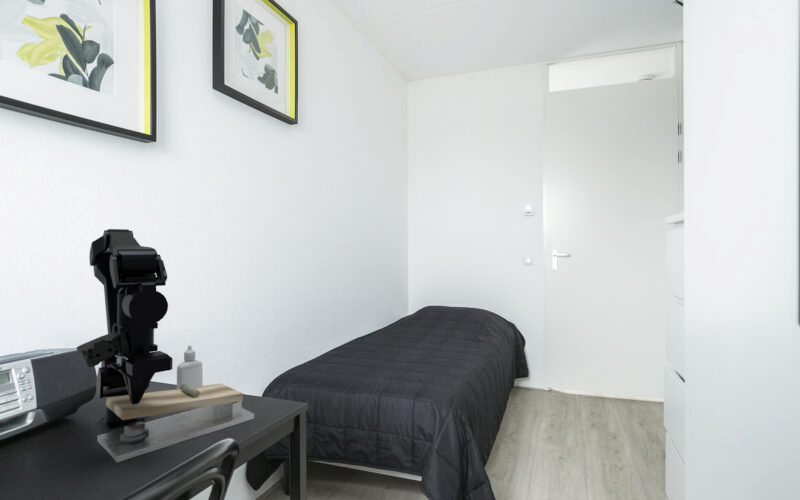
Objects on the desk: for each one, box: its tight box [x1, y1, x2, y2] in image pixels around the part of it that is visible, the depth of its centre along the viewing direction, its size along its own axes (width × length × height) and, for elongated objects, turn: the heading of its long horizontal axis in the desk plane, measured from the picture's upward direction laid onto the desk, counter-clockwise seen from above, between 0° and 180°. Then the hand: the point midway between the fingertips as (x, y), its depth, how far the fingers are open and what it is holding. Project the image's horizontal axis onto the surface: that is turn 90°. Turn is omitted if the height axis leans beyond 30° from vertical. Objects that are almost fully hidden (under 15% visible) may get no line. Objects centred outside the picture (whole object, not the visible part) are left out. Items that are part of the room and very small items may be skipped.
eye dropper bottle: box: [176, 345, 203, 389], centre depth 106 cm, size 4×6×12 cm
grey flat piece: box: [96, 401, 255, 463], centre depth 86 cm, size 12×25×4 cm, turn 138°
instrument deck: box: [105, 383, 244, 420], centre depth 86 cm, size 10×22×3 cm, turn 138°
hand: (135, 403), depth 79 cm, fingers closed, pressing on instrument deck
